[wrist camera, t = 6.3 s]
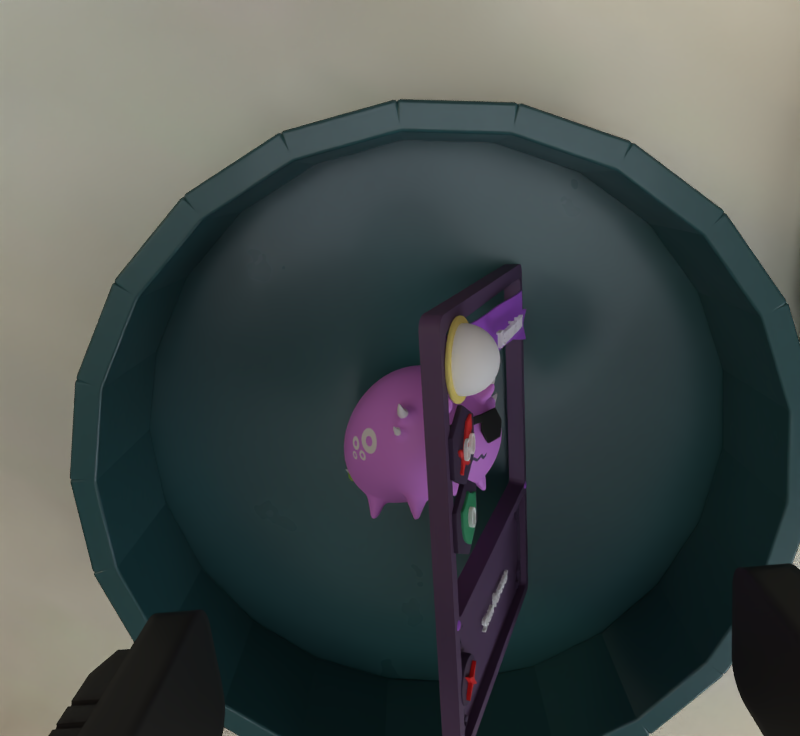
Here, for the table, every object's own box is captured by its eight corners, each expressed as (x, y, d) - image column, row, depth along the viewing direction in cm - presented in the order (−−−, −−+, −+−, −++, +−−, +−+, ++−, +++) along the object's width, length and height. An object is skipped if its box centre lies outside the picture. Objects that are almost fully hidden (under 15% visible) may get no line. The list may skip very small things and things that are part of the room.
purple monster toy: (500, 782, 14) (483, 318, 11) (263, 725, 16) (207, 315, 13) (555, 590, 20) (552, 261, 17) (380, 565, 22) (356, 265, 19)
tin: (195, 715, 22) (154, 818, 18) (70, 155, 18) (-15, 150, 14) (740, 669, 21) (805, 767, 17) (744, 71, 17) (832, 45, 13)
